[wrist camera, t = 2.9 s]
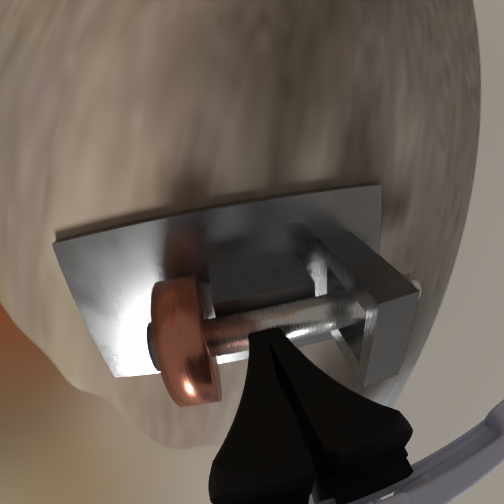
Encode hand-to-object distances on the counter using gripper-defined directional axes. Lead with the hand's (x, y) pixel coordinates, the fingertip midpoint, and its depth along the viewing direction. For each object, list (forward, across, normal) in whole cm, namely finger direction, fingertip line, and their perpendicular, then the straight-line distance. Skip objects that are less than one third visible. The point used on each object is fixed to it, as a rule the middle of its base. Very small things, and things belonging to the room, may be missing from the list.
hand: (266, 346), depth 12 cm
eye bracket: (+5, +1, 0) cm, 5 cm away
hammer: (+4, -2, 0) cm, 5 cm away
